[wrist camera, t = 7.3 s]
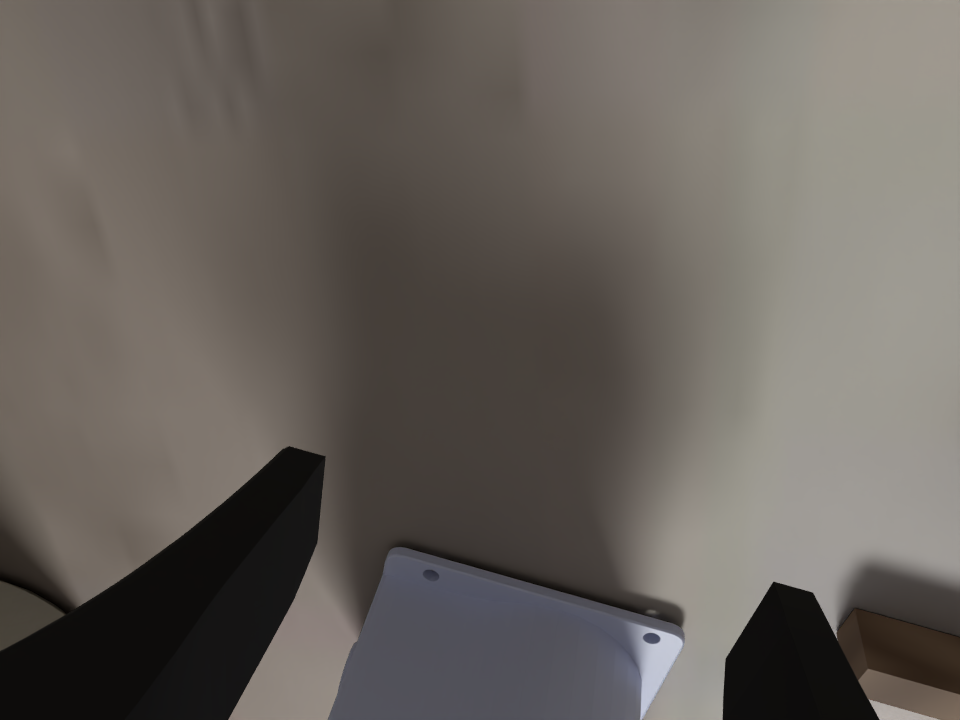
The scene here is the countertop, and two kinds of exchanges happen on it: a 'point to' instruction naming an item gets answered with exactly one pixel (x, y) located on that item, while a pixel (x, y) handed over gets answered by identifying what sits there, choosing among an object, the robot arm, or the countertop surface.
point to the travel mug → (23, 613)
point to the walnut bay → (903, 664)
